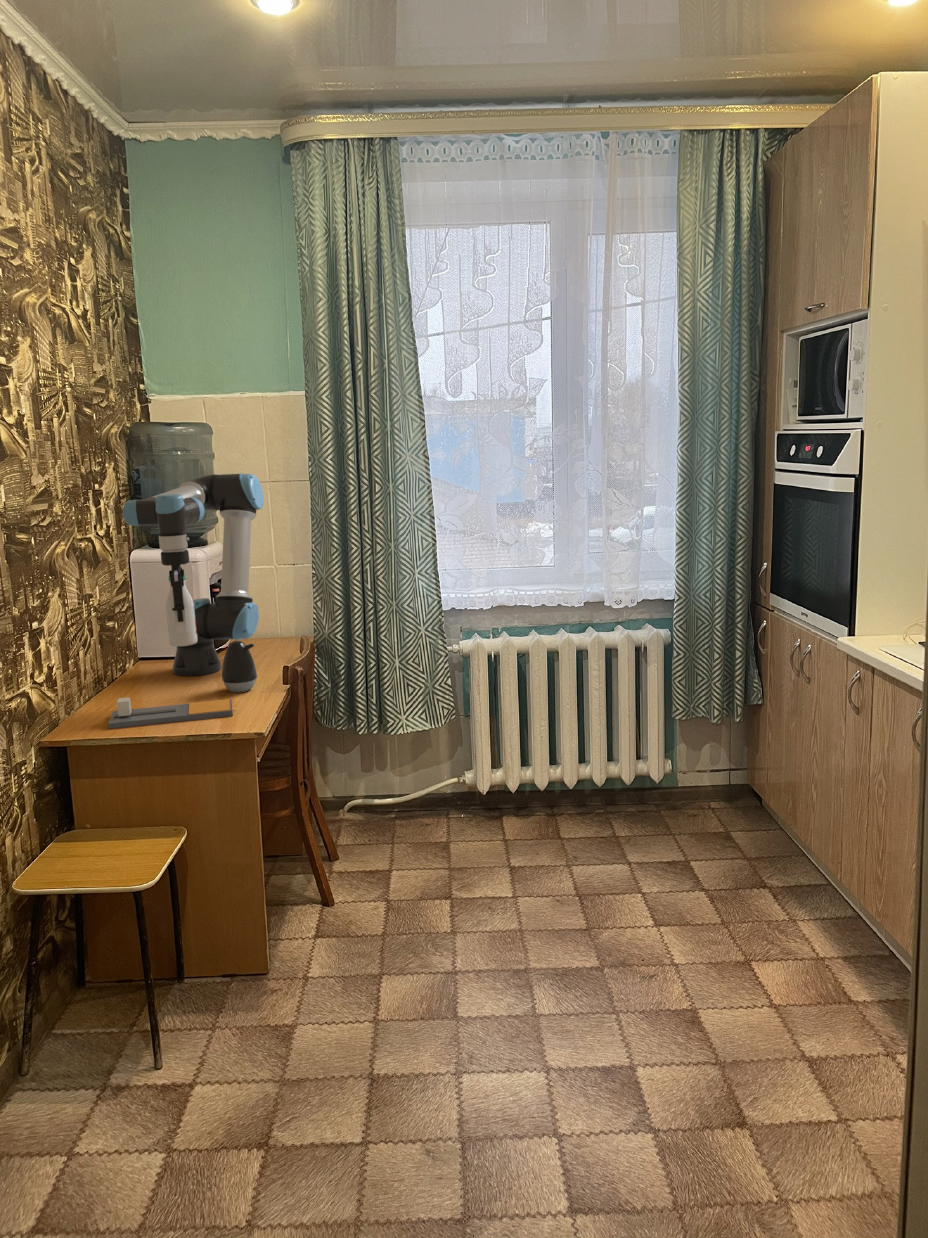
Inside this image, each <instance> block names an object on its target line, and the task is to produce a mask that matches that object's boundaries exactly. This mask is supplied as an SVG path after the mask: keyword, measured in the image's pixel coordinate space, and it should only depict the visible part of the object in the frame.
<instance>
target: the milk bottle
mask: <svg viewBox="0 0 928 1238" xmlns="http://www.w3.org/2000/svg"><path fill="white" fill-rule="evenodd" d="M186 579H187V577H186V574H185V573H184V577H183V580H184V586H183V587H182V590H183V602H184V608H185V616H186V626H187V632H186V633H177V628H176V618H175V611H172V608H174V597H173V587H172V586H171V579H170V576H168V582H169V584H170V586H169V592H168V595H167V598H166V603H165V608H166V620H167V622H166V623H167V632H168V640H169V644H170V646H172V647H177V646H188V645H193V644H196V643H197V629H196V619H195V610H194V603H193V600H194V599H193V598H192V596H191V593H190V592H189V590H188V587H187V586H186V582H187V580H186ZM181 582H182V580H181ZM179 605H181V604H179Z"/></svg>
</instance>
